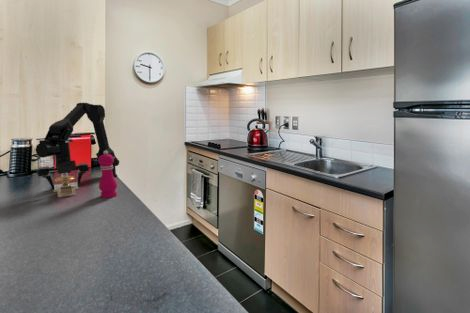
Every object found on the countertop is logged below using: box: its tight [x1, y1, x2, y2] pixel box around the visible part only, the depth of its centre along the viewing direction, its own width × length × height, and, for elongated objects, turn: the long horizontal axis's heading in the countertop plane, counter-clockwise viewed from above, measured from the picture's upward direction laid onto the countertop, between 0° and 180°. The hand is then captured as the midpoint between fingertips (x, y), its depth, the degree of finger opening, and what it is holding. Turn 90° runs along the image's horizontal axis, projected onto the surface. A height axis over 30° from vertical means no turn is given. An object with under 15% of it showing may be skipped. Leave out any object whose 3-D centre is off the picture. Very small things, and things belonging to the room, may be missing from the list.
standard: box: [52, 173, 80, 193], centre depth 131 cm, size 10×10×10 cm
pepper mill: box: [97, 150, 118, 199], centre depth 119 cm, size 7×7×20 cm
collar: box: [56, 185, 77, 198], centre depth 122 cm, size 7×7×3 cm
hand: (66, 188), depth 122 cm, fingers open, 9 cm apart
